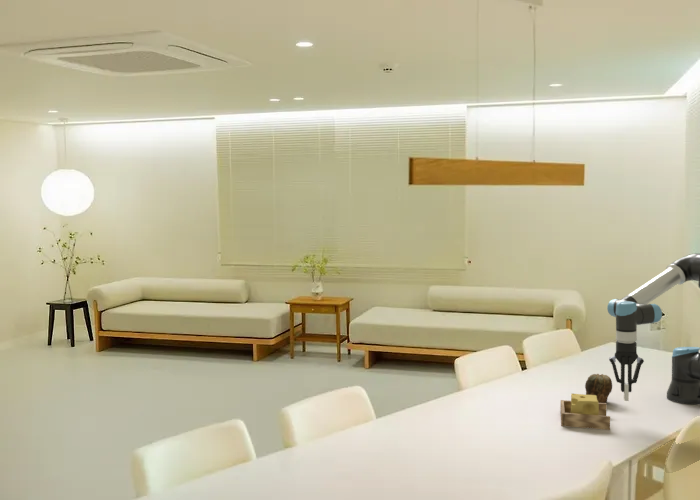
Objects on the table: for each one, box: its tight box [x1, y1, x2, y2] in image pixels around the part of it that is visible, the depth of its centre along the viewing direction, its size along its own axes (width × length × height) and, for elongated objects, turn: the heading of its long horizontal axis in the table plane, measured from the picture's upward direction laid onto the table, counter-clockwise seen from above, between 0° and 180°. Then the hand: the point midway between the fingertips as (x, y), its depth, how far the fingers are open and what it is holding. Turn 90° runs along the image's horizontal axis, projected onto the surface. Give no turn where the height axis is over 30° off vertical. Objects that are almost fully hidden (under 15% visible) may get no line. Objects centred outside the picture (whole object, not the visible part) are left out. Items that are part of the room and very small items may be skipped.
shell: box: [584, 373, 613, 404], centre depth 304 cm, size 11×11×12 cm
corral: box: [559, 399, 611, 431], centre depth 279 cm, size 18×18×5 cm
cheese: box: [570, 393, 599, 415], centre depth 277 cm, size 10×11×10 cm
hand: (626, 399), depth 277 cm, fingers closed
